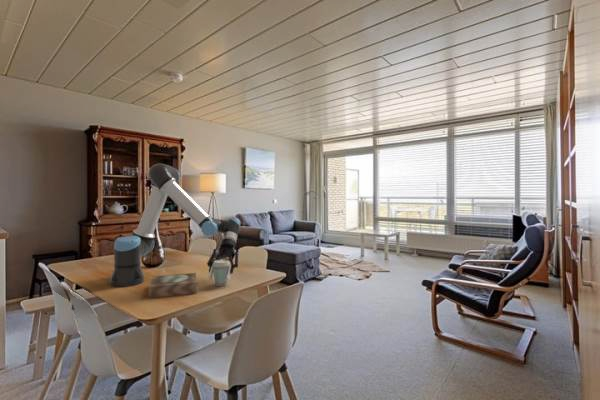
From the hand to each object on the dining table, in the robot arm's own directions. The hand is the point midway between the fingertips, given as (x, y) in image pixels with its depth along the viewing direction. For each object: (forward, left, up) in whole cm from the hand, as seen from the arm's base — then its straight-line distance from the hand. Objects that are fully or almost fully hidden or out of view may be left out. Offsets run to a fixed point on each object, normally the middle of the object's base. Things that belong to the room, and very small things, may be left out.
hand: (218, 278), depth 148 cm
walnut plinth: (-21, +2, -4) cm, 21 cm away
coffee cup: (+1, +3, -4) cm, 5 cm away
